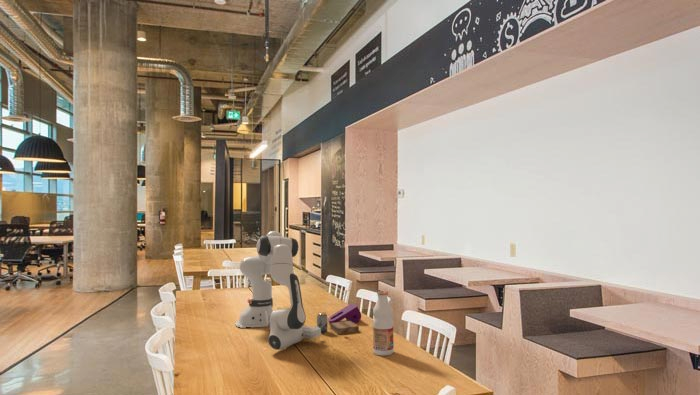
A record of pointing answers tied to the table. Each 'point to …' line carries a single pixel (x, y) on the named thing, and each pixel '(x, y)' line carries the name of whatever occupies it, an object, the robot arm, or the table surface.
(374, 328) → the fruit juice
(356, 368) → the table surface
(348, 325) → the stand
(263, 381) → the table surface
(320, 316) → the grey can
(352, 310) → the mounting bracket
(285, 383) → the table surface
